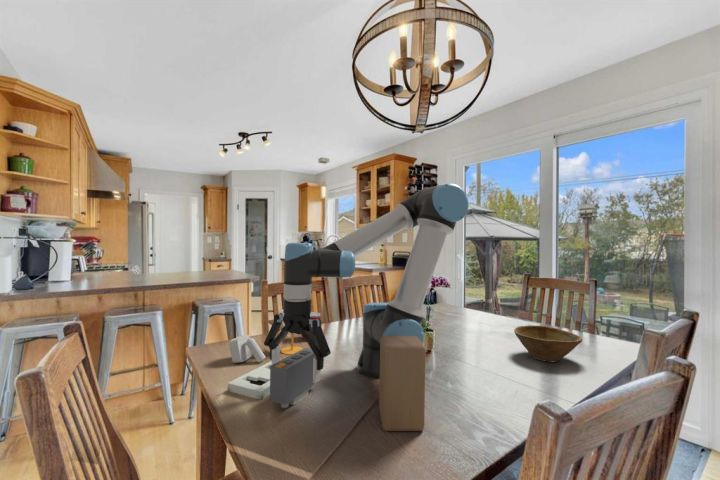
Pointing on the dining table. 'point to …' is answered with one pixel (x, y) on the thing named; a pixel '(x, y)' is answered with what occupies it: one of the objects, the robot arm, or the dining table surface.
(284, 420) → the dining table surface
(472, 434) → the dining table surface
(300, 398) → the foam block
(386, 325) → the robot arm
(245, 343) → the wall hook
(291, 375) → the grey slotted block
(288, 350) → the cup
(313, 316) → the canned food
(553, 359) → the bowl
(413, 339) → the wooden block
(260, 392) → the keyhole board
